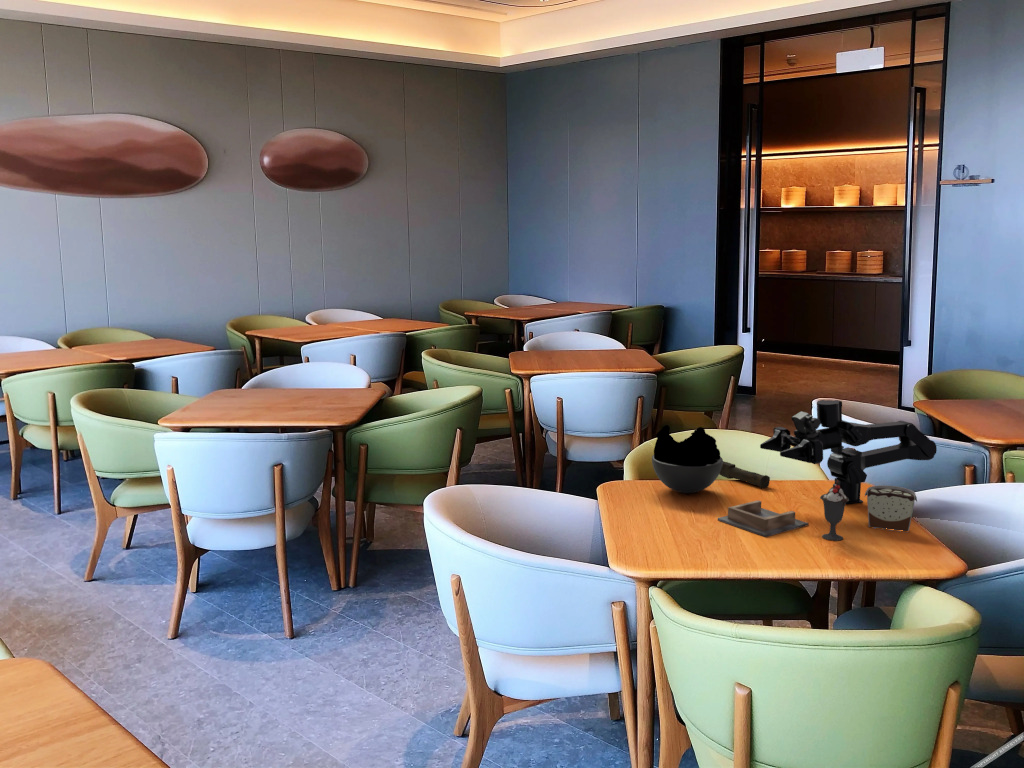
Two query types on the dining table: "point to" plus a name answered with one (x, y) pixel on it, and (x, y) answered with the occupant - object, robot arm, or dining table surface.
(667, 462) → the coal bowl
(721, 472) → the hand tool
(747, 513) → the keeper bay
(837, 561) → the dining table surface
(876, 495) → the food container
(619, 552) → the dining table surface
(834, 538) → the sundae
